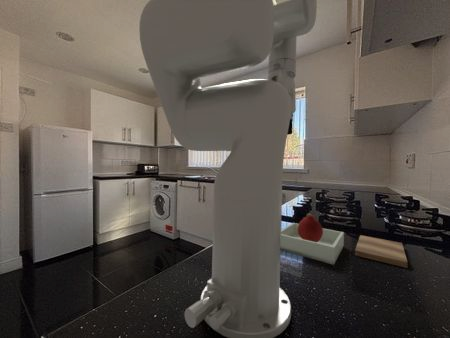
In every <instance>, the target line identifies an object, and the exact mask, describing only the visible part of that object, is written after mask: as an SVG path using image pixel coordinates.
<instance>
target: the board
mask: <svg viewBox="0 0 450 338" xmlns="http://www.w3.org/2000/svg"><path fill="white" fill-rule="evenodd" d="M354 256H356V257H361V258H366V259H369V260H373V261H377V262H381V263H386V264H388V265H393V266H397V267H402V268H406V269H408V259H407V256H406V252H405V248H404V245H403V243H402V242H398V241H393V240H387V239H383V238H377V237H372V236H366V235H362V234H360V235H359V237H358V241H357V243H356V246H355V249H354Z"/></svg>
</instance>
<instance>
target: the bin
mask: <svg viewBox="0 0 450 338" xmlns="http://www.w3.org/2000/svg"><path fill="white" fill-rule="evenodd" d="M298 225H299V223H295V222H292V223H290V224H289V225H287V226H286V227H284V228H281V246H280V249H282V250H281V251H283V250H284V252H287V253H290V254H295V255H298V256H302V257H306V258H307V259H308V258H309V259H311V260H312V259H313V260H315V261H319V262H321V263H322V262H323V263H326V264H329V265H332V266H334V265H335V264H336V262H337V260H338V258H339V256H340V254H341V252H342V250H343V248H344V246H345V245H344V243H345V241H344V239H345V232H344V231H338V230H333V229H329V228H328V229H327V228H323V227H322V229H323V235H322V237H321V239H320V240H319V241H318V242H313V241H308V240H304V239H302V238H301V237H300V236H299V234H298Z"/></svg>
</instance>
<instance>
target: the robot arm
mask: <svg viewBox="0 0 450 338" xmlns="http://www.w3.org/2000/svg"><path fill="white" fill-rule="evenodd" d="M273 1H274V0H149V1H148V2H147V3H146V4H145V6H144V7H143V9H142V12H141V14H140V19H139V28H138V29H139V30H138V31H139V41H140V47H141V51H142V56H143V58H144V61H145V64H146V67H147V69H148V72H149V76H150V78H151V81H152V83H153V86H154V88H155V89H154V90H155V91H156V94H157V97H158V99H159V102H160V104H161V107H162V111H163V113H164V115H165V117H166V120H167V123H168V126H169V128H170V131H171V133H172V135H173V136H174V138H175V140H176V141H177V143H179V145H180V146H182V147H183V148H184V149H186V150H189V151H194V152H225V151H226V152H230V153H229V154H228V156H227V157H226V159H225V160H224V161H223V163H222V164H221V166H220V167H219V169H218V170H217V173H216V175H215V178H214V184H213V212H212V213H213V214H212V215H213V217H212V250H211V251H212V252H211V253H212V260H211V278H210V279H208V280H207V281H206V282H207V283H206V286H205V287H204V288H203V290H202V292H201V295H200V300H197V301H196V302H194V303H193V304H191V305H190V306H189V307H188V308H186V309H185V311H184V319H185V322H186V325H187V326H189V327H190V328H193V329H194V328H195V327H196V326H198V325H199V324H200V323H201V322H203V321H204V322H205V323H206V324H207V325H208V326H209V327H210V329H211V328H212V330H214V331H215V332H217V333H218V334H220V335H222V336H223V337H226V338H276V337H277V336H278V335H280V334H282V333H283V332H284V331H285V330H286V329H287V327H288V326H289V325H290V321H291V318H292V317H291V316H292V306H291V304H292V303H291V300H290V299H289V296H288V295H287V294H286V292H285V291H284V290H283V289H282V288H281V287H280V286H281V285H280V283H281V282H280V280H281V279H280V278H281V277H280V276H281V250H280V246H281V230H282V204H283V203H282V201H283V198H282V197H283V175H284V173H283V172H284V171H283V170H284V159H285V152H286V151H285V150H286V144H287V137H288V135H292V134H293V122H294V113H295V112H296V111H297V110H296V109H297V108H296V107H297V103H296V99H297V98H296V83H295V77H296V73H297V72H296V70H297V69H296V68H297V64H296V63H297V37H299V36H301V37H302V36H304V35H306V34H308V33H309V32H311V31H312V30H313V28H314V27H315V23H316V19H317V8H318V7H317V6H318V5H317V1H318V0H286V1H283V2H280V3H277V4H273ZM267 58H268V64H267V65H268V71H267V73H268V75H267V77H268V79H266V78H265V79H264V78H257V79H256V78H254V79H246V80H241V81H233V82H227V83H221V84H218V85H217V84H216V85H211V86H210V85H209V86H205V87H202V85H201V78H207V77H211V76H217V75H221V74H226V73H232V72H237V71H242V70H246V69H249V68H253V67H255V66H257V65H259V64H261V63H263V62H264V61H265V60H266V59H267Z"/></svg>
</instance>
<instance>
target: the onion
mask: <svg viewBox="0 0 450 338" xmlns="http://www.w3.org/2000/svg"><path fill="white" fill-rule="evenodd" d="M298 224H299V225H298V234H299V236H300V237H301V238H302V239H304V240H308V241H313V242H318V241H319V240H320V239H321V237H322V235H323V229H324V228H323V226H322V224H321V223H320V221H319V220H318V219H316V218H315V217H314V216H313V215H312V213H310V212H309V213H307V214H306V217H304V218H303V219H301V220H300V221H299V223H298ZM322 228H323V229H322Z"/></svg>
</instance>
